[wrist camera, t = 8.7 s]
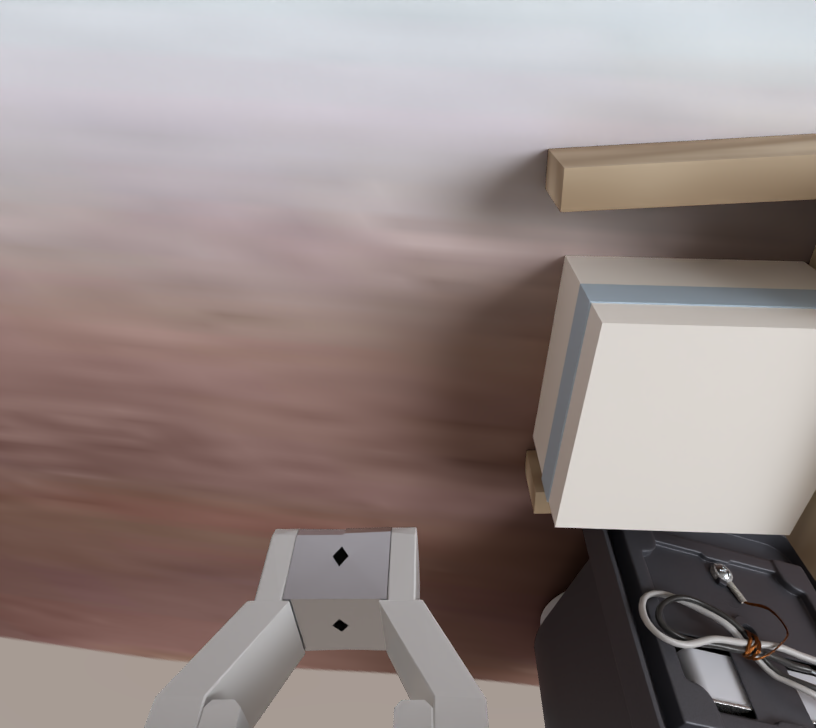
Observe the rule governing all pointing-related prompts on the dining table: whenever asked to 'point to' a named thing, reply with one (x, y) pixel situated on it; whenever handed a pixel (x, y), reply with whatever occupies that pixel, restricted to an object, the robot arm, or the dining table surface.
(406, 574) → the robot arm
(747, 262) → the carton
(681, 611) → the light fixture
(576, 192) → the stand
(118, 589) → the dining table surface
